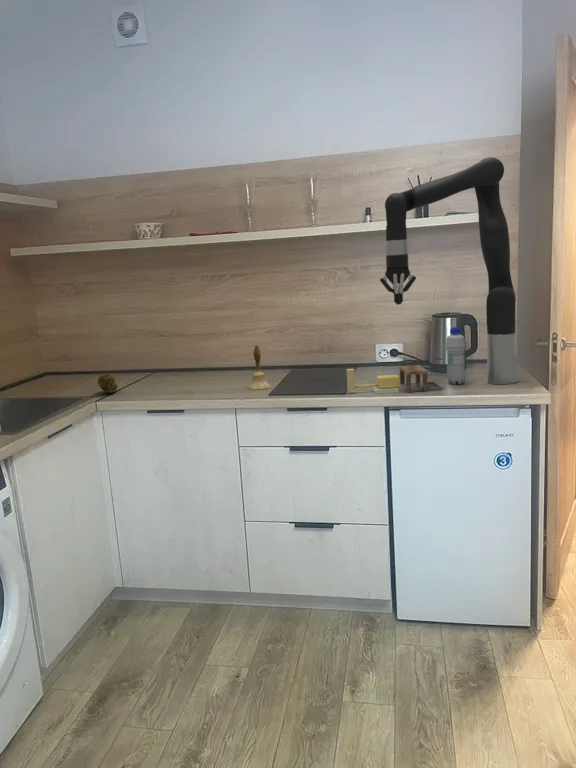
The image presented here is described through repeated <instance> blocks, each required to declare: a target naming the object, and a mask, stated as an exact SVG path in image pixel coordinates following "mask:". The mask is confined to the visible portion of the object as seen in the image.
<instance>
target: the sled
mask: <svg viewBox="0 0 576 768" xmlns="http://www.w3.org/2000/svg"><path fill="white" fill-rule="evenodd" d="M355 378H356V375H355V369H354V368H347V369H346V384H347V390H348V391H349V390H351V391H352V390H356V389H362V388H372V387H378V388H393V387H400V375H398V374H386V375H385V374H384V375H376V383H367V384H356V379H355Z"/></svg>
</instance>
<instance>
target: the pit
mask: <svg viewBox="0 0 576 768" xmlns="http://www.w3.org/2000/svg"><path fill="white" fill-rule="evenodd" d="M420 382H421V381H420ZM421 383H423V381H422V382H421ZM443 389H444V387H443V386H442V385H440V384H439V383H437V381H428V392H434V391H443Z"/></svg>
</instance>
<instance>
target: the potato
mask: <svg viewBox="0 0 576 768" xmlns="http://www.w3.org/2000/svg"><path fill="white" fill-rule="evenodd" d="M97 385H98V386H99V388H100V389H101V390H102V391H104V392H105V393H108V394H113V393H115V392H117V391H118V387H119V385H118V383H117V381H116V379H115V378H114V376H112V375H111V374H102V375H100V376H98V379H97Z"/></svg>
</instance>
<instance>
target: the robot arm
mask: <svg viewBox="0 0 576 768" xmlns="http://www.w3.org/2000/svg"><path fill="white" fill-rule="evenodd" d="M504 173H505V166H504V164H503V162H502V161H501V159H499V158H496V157H491V156H490V157H485V158H483V159H481V160H480V161H479V162H476V163H475V164H473V165H471V166H469V167H467V168H465V169H463V170H460V171H458V172H455V173H452V174H450V175H447V176H443V177H440V178H437V179H434V180H430V181H427V182H425V183H422V184H418V185H416V186H414V187H413V188H411V189H408V190H405V191H402V192H393V193H391V194H390V195H388V197H386V199H385V202H384V210H385V218H386V221H385V222H386V226H385V260H386V261H385V265H386V266H385V268H386V270H385V272H384V275H383V276H382V277H381V278H379V282H380V283H381V285H382V286H384V288H385V289H386V290H387V292H389V293H393V303H395V305H402V303H403V302H404V296H403V295H404V293H405V292H408V291H409V289H410V288H411V286H412V285H413V284H414V282H415V281H416V280H417V276H414V275H413V274H411V271H410V268H409V246H408V235H407V234H408V232H407V212H409V211H412V210H414V209H417V208H422V207H425V206H427V205H431V204H434V203H437V202H439V201H442V200H444V199H446V198H450V197H451V196H454V195H455V194H458V193H460V192H464V191H466V190H470V189H474V192H475V196H476V197H475V198H476V201H477V207H478V209H477V210H478V229H479V239H480V249H481V253H482V257H483V261H484V264H485V267H486V272H487V277H488V278H487V279H488V282H487V283H488V294H487V297H486V313H485V314H486V331H487V332H486V333H487V336H486V341H487V342H486V345H487V348H486V352H487V353H486V355H487V358H486V359H487V361H486V362H487V364H486V365H487V366H486V367H487V369H486V370H487V371H486V372H487V373H486V374H487V376H486V377H487V381H486V382H487V383H488V384H491V385H511V384H515V382H516V383H518V355H517V354H516V300H517V298H516V297H517V296H516V292H515V289H514V286H513V281H512V276H511V275H512V274H511V267H510V266H511V265H510V264H511V248H510V247H511V246H510V234H509V226H508V222H507V218H506V215H505V212H504V209H503V207H502V203H501V198H500V181H501V180H502V179H503V177H504V175H505V174H504ZM406 280H408V281H407V283H405V282H406ZM388 281H389V283H391V285H392V287H391V285H389V283H388ZM404 283H405V284H404Z"/></svg>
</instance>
